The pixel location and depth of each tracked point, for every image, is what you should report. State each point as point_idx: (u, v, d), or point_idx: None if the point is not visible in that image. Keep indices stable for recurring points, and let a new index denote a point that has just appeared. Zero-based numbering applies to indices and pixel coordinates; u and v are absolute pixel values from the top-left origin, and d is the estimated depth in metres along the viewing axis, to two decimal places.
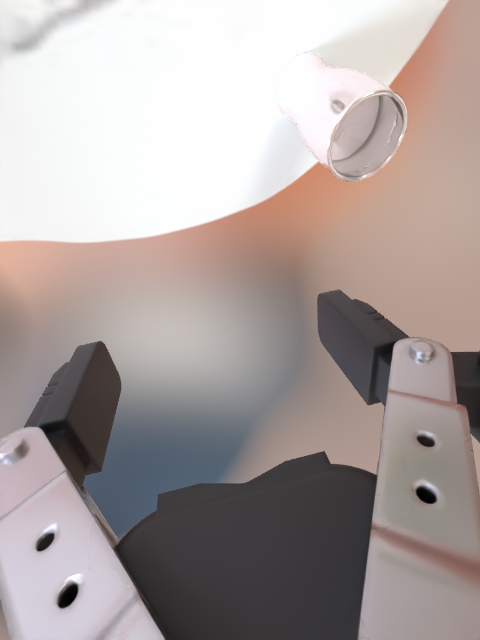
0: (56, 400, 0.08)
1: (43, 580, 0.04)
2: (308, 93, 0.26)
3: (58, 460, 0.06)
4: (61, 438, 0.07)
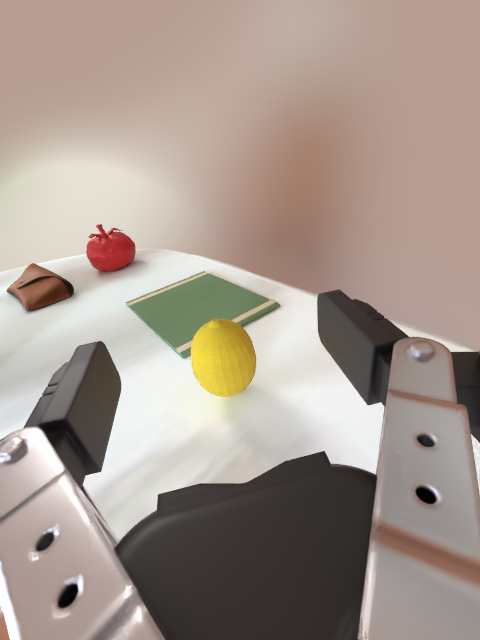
0: (56, 400, 0.08)
1: (43, 580, 0.04)
2: None
3: (58, 460, 0.06)
4: (61, 438, 0.07)
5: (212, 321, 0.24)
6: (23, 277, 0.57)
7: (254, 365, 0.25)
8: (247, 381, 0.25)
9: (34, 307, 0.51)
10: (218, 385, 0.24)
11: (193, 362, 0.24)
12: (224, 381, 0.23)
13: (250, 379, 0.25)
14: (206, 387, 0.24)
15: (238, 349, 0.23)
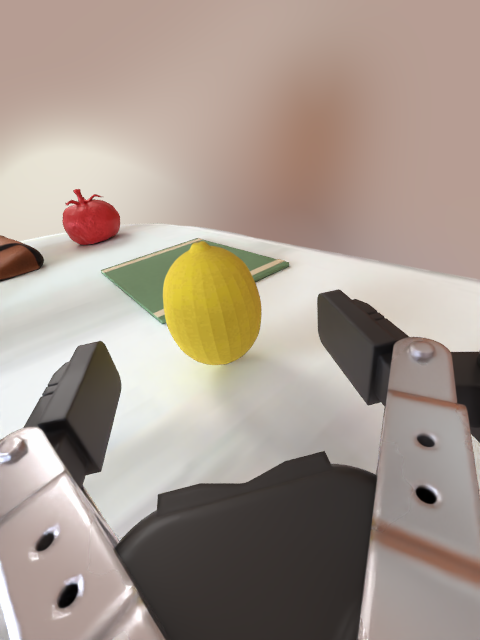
0: (56, 400, 0.08)
1: (43, 580, 0.04)
2: None
3: (58, 460, 0.06)
4: (61, 438, 0.07)
5: (194, 244, 0.15)
6: None
7: (259, 316, 0.17)
8: (248, 340, 0.16)
9: None
10: (202, 343, 0.15)
11: (165, 309, 0.16)
12: (212, 336, 0.15)
13: (253, 337, 0.17)
14: (186, 348, 0.16)
15: (234, 285, 0.15)
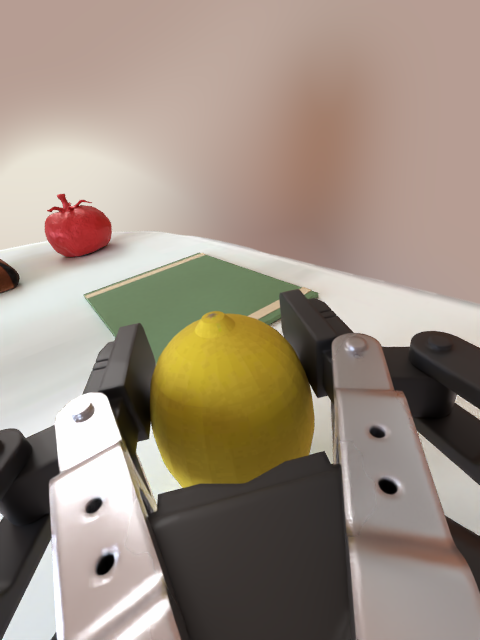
0: (111, 371, 0.08)
1: (87, 542, 0.04)
2: None
3: (116, 429, 0.06)
4: (119, 404, 0.08)
5: (205, 319, 0.08)
6: None
7: (312, 432, 0.10)
8: None
9: None
10: None
11: (154, 429, 0.09)
12: None
13: None
14: None
15: (280, 401, 0.08)
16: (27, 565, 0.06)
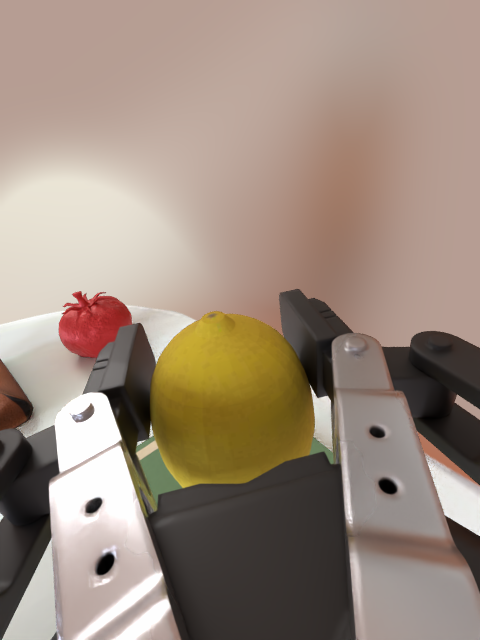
0: (111, 371, 0.08)
1: (87, 542, 0.04)
2: None
3: (116, 429, 0.06)
4: (119, 404, 0.08)
5: (205, 319, 0.08)
6: None
7: (313, 432, 0.10)
8: None
9: None
10: None
11: (154, 430, 0.09)
12: None
13: None
14: None
15: (281, 401, 0.08)
16: (27, 565, 0.06)
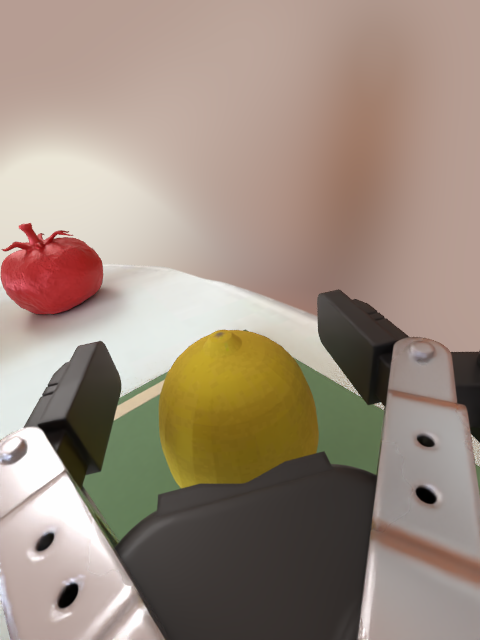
0: (56, 400, 0.08)
1: (43, 580, 0.04)
2: None
3: (58, 460, 0.06)
4: (61, 438, 0.07)
5: (212, 338, 0.09)
6: None
7: (317, 446, 0.10)
8: None
9: None
10: None
11: (163, 444, 0.09)
12: None
13: None
14: None
15: (286, 419, 0.08)
16: None
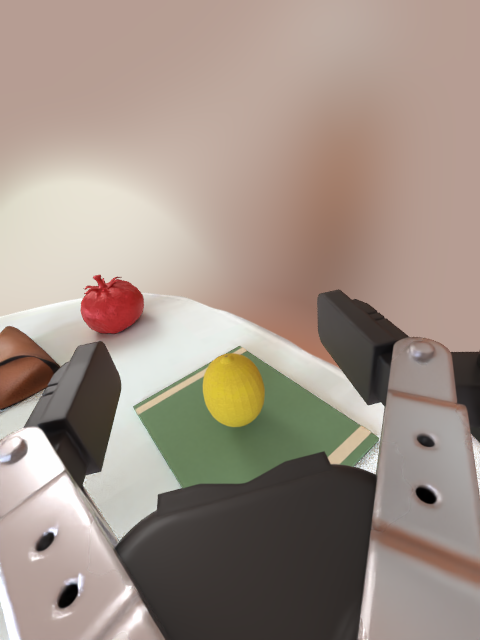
0: (56, 400, 0.08)
1: (43, 580, 0.04)
2: None
3: (58, 460, 0.06)
4: (61, 438, 0.07)
5: (223, 357, 0.25)
6: None
7: (263, 397, 0.26)
8: (256, 413, 0.26)
9: (6, 404, 0.37)
10: (229, 418, 0.25)
11: (205, 395, 0.25)
12: (235, 415, 0.25)
13: (259, 411, 0.26)
14: (217, 418, 0.26)
15: (248, 385, 0.24)
16: None
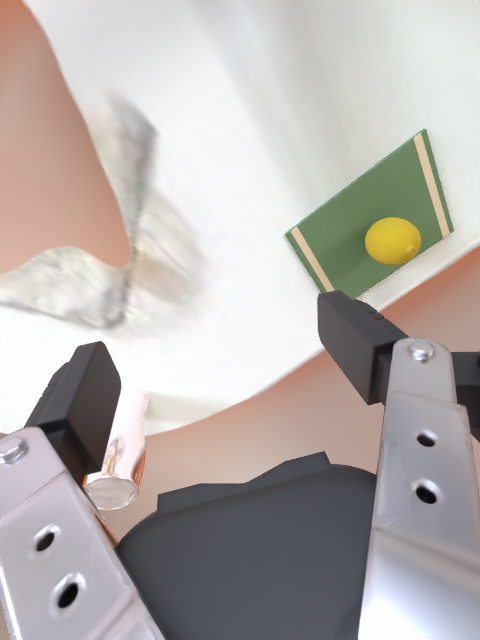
0: (56, 400, 0.08)
1: (43, 580, 0.04)
2: None
3: (58, 460, 0.06)
4: (61, 438, 0.07)
5: (412, 248, 0.33)
6: None
7: (377, 260, 0.38)
8: None
9: None
10: (370, 237, 0.37)
11: (391, 224, 0.35)
12: (370, 242, 0.37)
13: (370, 254, 0.39)
14: (373, 227, 0.37)
15: (385, 259, 0.36)
16: None
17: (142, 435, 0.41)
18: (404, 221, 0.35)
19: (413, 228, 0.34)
